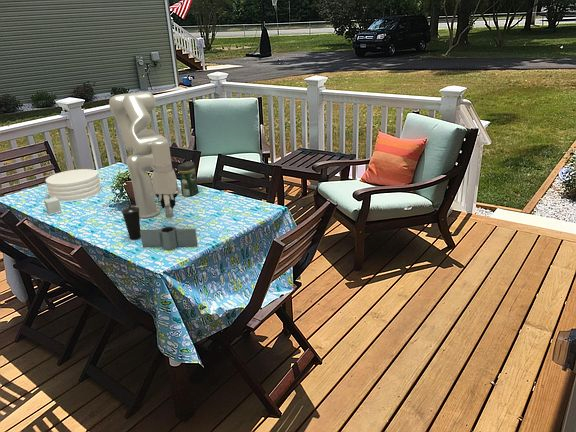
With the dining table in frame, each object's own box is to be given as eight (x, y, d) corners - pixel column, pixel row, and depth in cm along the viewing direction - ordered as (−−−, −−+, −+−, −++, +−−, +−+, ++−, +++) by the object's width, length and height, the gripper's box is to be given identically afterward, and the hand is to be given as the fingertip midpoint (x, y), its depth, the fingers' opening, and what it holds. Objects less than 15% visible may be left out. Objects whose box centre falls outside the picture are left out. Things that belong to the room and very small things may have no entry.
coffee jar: (189, 190, 274) (185, 159, 267) (200, 192, 271) (196, 160, 264) (179, 196, 266) (174, 164, 259) (190, 197, 263) (186, 165, 256)
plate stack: (90, 202, 263) (86, 182, 259) (40, 204, 264) (35, 184, 260) (108, 186, 289) (105, 168, 285) (63, 188, 290) (59, 170, 286)
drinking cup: (128, 234, 219) (121, 194, 211) (145, 233, 219) (138, 192, 211) (124, 241, 212) (116, 199, 204) (142, 240, 212) (134, 198, 204)
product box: (62, 212, 250) (59, 199, 247) (49, 215, 246) (46, 202, 244) (59, 209, 254) (55, 196, 252) (46, 212, 251) (43, 199, 248)
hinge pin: (162, 219, 211) (157, 187, 205) (165, 214, 216) (161, 183, 210) (173, 219, 211) (169, 187, 205) (177, 214, 216) (172, 183, 210)
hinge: (140, 250, 202) (137, 233, 199) (145, 243, 209) (142, 227, 206) (195, 249, 201) (193, 232, 198) (199, 242, 207) (197, 225, 204)
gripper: (141, 170, 201) (147, 210, 209) (179, 170, 200) (184, 210, 208) (147, 165, 208) (152, 204, 215) (184, 165, 207) (188, 203, 215)
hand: (168, 206), depth 212 cm, fingers closed on hinge pin, 3 cm apart
